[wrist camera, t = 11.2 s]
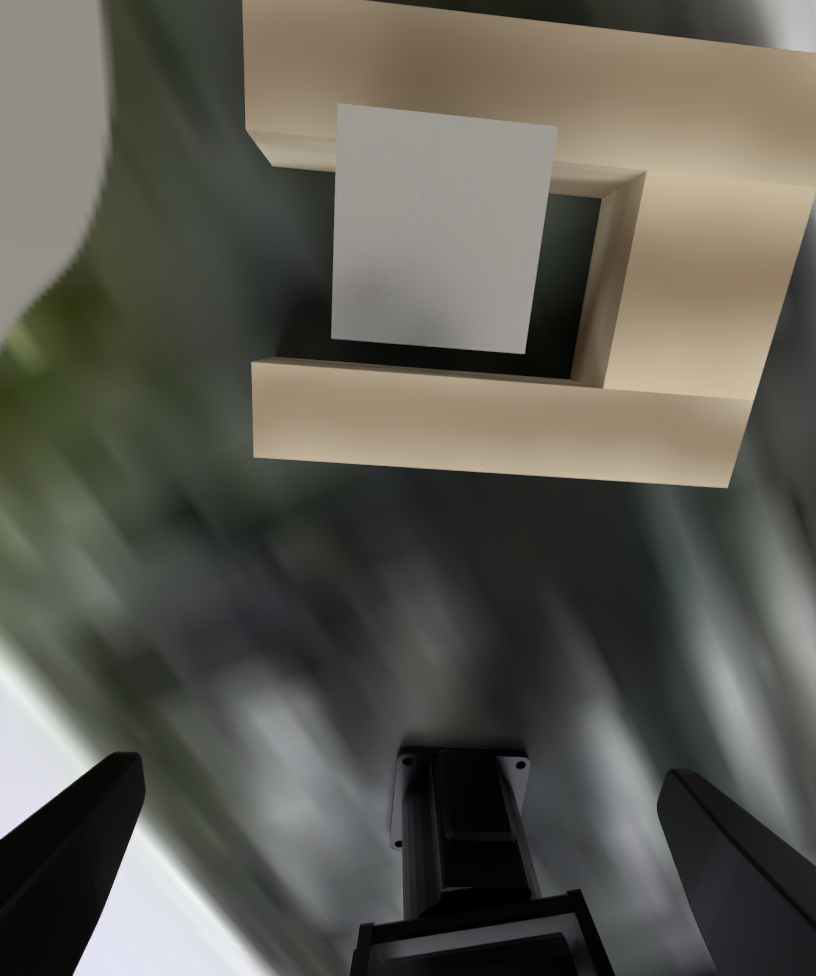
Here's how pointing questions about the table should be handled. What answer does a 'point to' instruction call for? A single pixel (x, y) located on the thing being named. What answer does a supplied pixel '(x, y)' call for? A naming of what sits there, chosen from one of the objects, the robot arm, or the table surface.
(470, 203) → the grey peg
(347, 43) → the notched board
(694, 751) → the table surface
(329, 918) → the table surface
